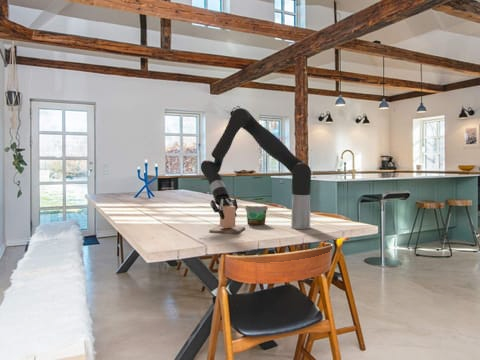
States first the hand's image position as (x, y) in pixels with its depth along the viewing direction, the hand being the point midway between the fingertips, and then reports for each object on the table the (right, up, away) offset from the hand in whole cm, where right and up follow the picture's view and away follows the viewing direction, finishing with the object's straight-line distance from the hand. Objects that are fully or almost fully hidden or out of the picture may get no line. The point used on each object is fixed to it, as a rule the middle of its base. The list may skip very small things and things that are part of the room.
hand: (229, 217), depth 169 cm
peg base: (-1, -7, +2) cm, 7 cm away
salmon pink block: (-1, -5, +2) cm, 5 cm away
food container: (+13, -6, +17) cm, 23 cm away
